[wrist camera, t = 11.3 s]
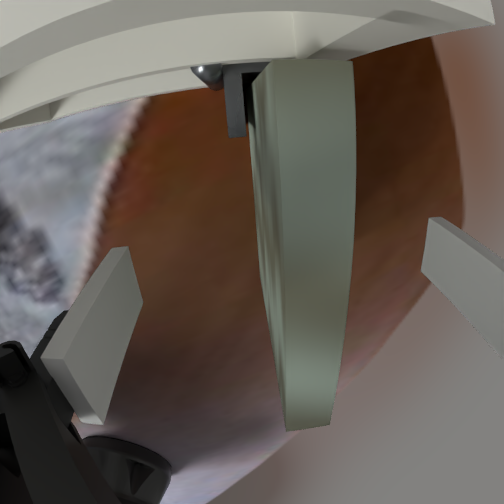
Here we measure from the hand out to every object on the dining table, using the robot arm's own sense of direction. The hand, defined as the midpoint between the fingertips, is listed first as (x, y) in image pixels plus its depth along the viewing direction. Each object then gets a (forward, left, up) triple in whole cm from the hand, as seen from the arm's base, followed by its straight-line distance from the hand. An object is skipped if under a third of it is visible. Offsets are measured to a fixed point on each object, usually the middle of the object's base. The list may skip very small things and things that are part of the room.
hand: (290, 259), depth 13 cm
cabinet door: (0, 0, -10) cm, 10 cm away
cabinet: (+13, +7, -10) cm, 18 cm away
